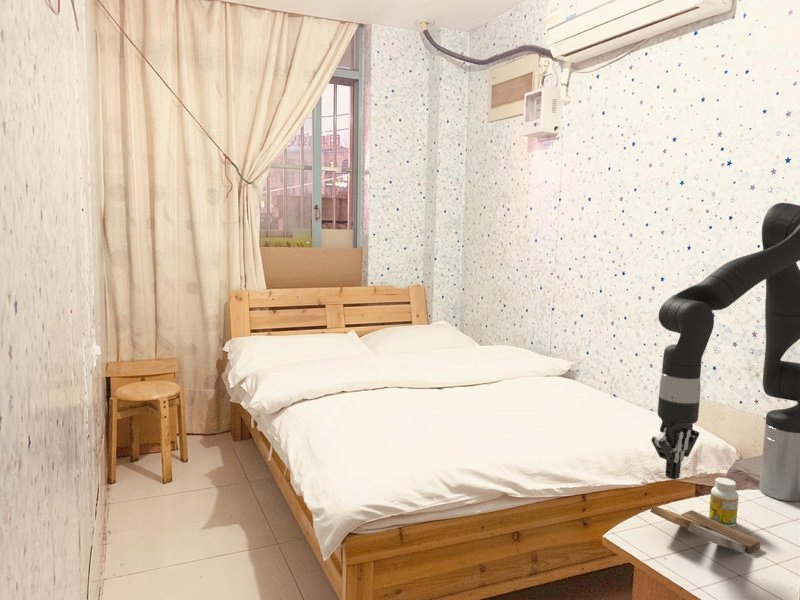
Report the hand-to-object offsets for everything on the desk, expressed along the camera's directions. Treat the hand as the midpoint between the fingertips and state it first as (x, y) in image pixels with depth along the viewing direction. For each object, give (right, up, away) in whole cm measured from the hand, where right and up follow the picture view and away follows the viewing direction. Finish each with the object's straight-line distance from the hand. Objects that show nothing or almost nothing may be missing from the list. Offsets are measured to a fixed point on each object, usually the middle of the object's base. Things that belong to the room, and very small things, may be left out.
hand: (672, 477), depth 120 cm
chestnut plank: (+2, -11, +3) cm, 11 cm away
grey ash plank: (+7, -12, -4) cm, 14 cm away
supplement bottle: (+15, -13, +9) cm, 22 cm away
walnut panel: (+12, -13, +4) cm, 18 cm away
